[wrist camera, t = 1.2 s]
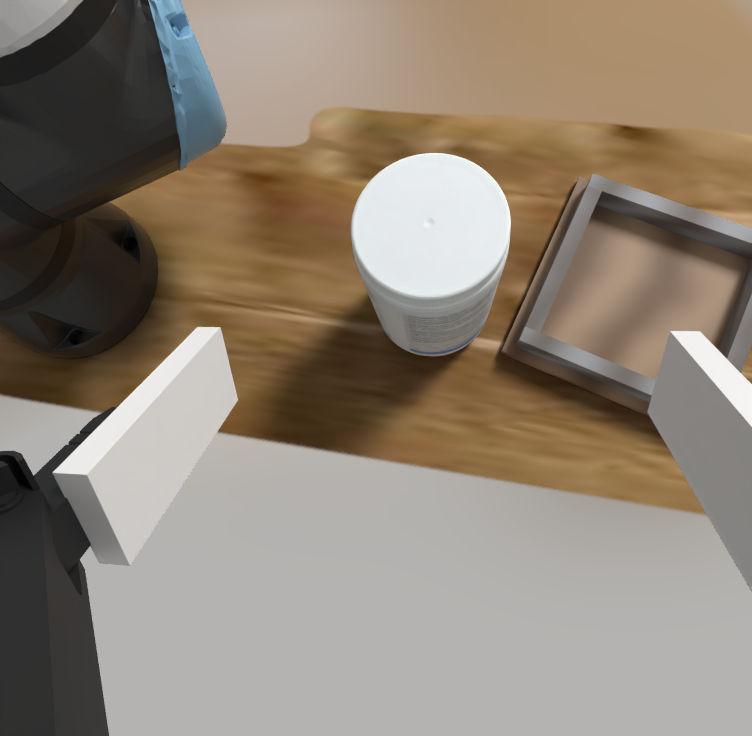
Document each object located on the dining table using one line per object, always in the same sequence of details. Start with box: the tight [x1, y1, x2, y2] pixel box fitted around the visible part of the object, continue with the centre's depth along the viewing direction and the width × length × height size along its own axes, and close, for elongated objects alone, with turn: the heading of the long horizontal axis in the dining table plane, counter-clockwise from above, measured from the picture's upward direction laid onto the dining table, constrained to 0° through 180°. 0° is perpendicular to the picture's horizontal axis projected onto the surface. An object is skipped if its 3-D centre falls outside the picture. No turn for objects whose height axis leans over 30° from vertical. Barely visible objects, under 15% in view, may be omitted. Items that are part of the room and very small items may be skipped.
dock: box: [501, 174, 752, 417], centre depth 39 cm, size 17×17×3 cm
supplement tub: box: [351, 153, 511, 356], centre depth 35 cm, size 10×10×15 cm
